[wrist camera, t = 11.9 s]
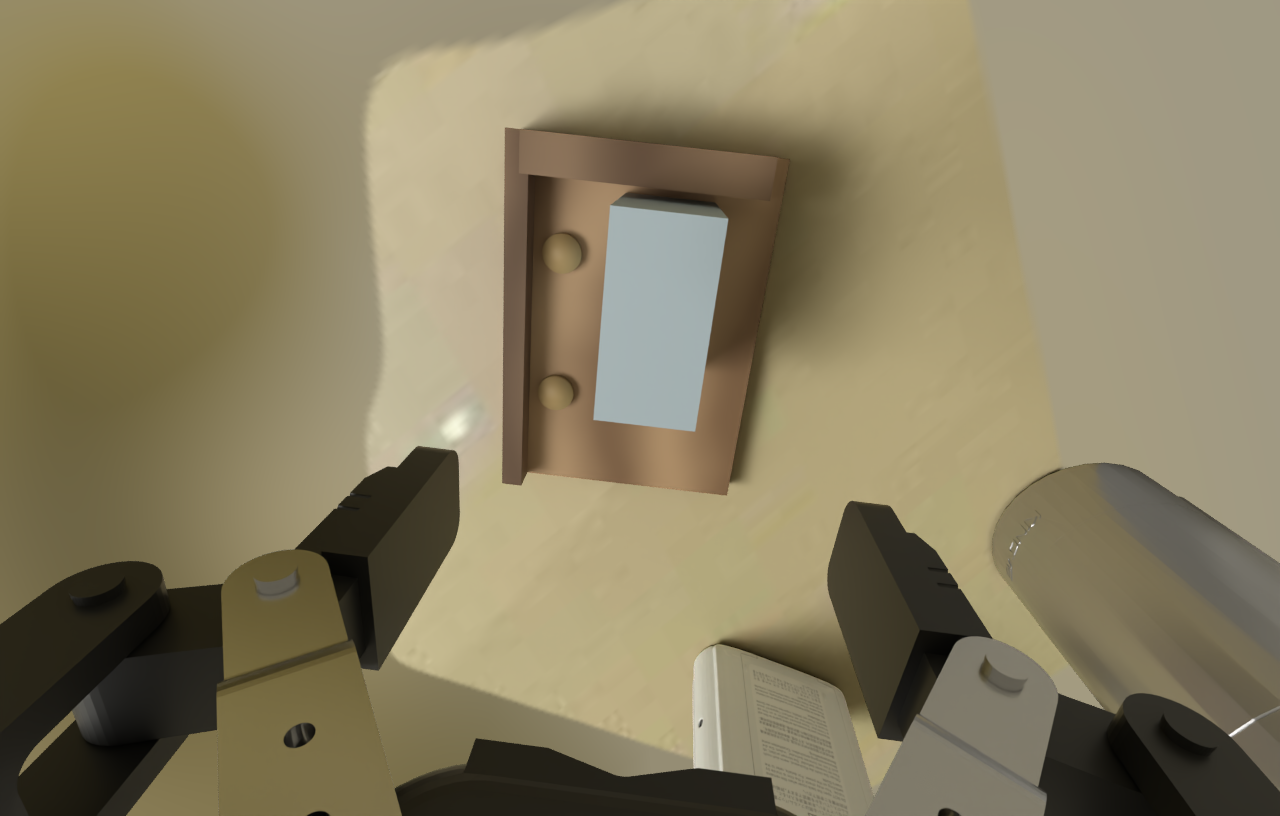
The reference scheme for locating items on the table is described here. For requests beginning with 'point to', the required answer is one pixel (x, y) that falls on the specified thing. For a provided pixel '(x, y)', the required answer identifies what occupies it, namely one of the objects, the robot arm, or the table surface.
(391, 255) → the table surface
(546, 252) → the board
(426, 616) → the table surface
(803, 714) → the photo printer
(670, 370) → the tall pale blue block
